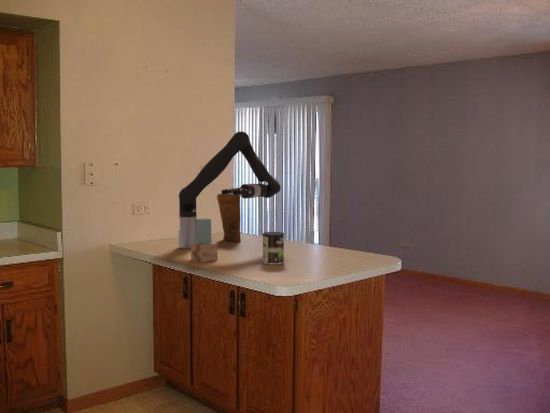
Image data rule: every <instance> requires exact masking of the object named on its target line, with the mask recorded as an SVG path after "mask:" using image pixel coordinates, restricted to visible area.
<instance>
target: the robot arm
mask: <svg viewBox="0 0 550 413" xmlns="http://www.w3.org/2000/svg"><path fill="white" fill-rule="evenodd" d="M250 140H251V139H250V136H249V134H248V133H247V132H245V131H241V130H240V131H237V132H235V133H234V134H233V136H232V137H231V138H230V139H229V140H228V142H227V144H225V146H224V147H222V149H220V151H218V152H217V153H216V154H215V155H214V156H213V157H212V158H211V159H209V161H207V163H206V164H205V165H204V166H203V167H202V169H201V170H200V171H199V172H198V174H197V175H196V177H195V178H194V179H193V180H192V181H191V182H190V183H188V185H186V186H185V187H183V188H181V190H180V191H179V192H178V199H179V210H178V213H179V214H178V216H179V230H178V248H180V249H190V250H191V244H192V243H197V223H196V219H197V198H198V196H199V195H200V194H201V193H202V192H203V190H204V189H205V188H207V187H208V186H209V185H210V184H211V183H213V181H215V180H216V179H217V178H218V177H219V176H220V175H221V174H222V173H223V172H224V171H225V169H227V167H228V165H229V164H230V162H231V161H232V160H233V158H234V157H235V156H236V155H237V154H238V153H239V152H240V153H241V154H242V156H243V157H244V158H245V159H246V161H247V163H248V165H249V167H250V168H251V170H252V172H253V174H254V176H255V177H256V178H257V180H258V182H259V183H243V184H242V185H240V187H235V188H233V187H231V188H225V189H221V194H231V195H240V198H242V199H255V198H260V197H261V198H265V199H270V198H273V196H275V195H277V194H279V193H280V191H281V185H280V183H279V182H278V181H277V179H276V178H275V177H273V176H272V175H271V174H270V173H269V171H268V170H267V168H266V166H265V165H264V163H263V162H262V160H261V159H260V158H259V156H258V155H257V154H256V152H255V149H254V148H253V146H252V143H251V141H250ZM264 182H265V183H266V184H264Z"/></svg>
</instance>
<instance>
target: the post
mask: <svg viewBox="0 0 550 413" xmlns="http://www.w3.org/2000/svg"><path fill="white" fill-rule="evenodd" d="M196 223H197V244H202V245H205V244H211V243H212V219H211V218H205V217H204V218H196Z"/></svg>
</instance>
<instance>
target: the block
mask: <svg viewBox="0 0 550 413" xmlns="http://www.w3.org/2000/svg"><path fill="white" fill-rule="evenodd" d="M190 257H191V258H190V260H191V261H195V262H200V263H207V262H212V261H217V260H218V242H211V244H205V245H202V244H197V243H192V244H191V248H190Z"/></svg>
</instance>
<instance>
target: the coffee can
mask: <svg viewBox="0 0 550 413" xmlns="http://www.w3.org/2000/svg"><path fill="white" fill-rule="evenodd" d="M261 235H262V263H263V264H264V265H282V264H284V263H285V232H282V231H281V232H280V231H266V232H262V233H261Z"/></svg>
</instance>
